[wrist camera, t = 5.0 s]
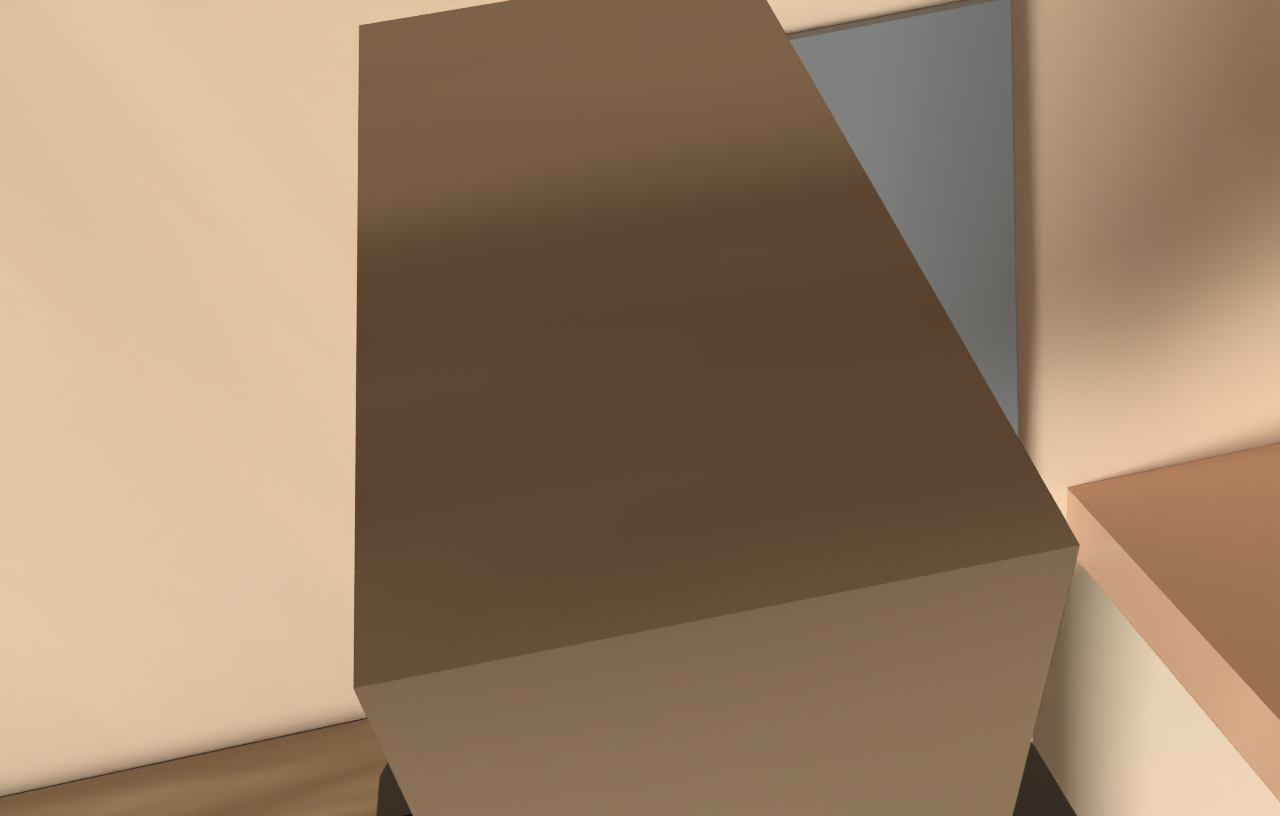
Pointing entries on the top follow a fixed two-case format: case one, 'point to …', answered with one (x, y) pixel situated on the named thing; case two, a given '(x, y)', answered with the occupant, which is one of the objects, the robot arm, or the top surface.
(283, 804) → the wooden tray
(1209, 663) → the tile
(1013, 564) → the brown rectangular block
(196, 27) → the top surface
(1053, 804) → the robot arm
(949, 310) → the mat
